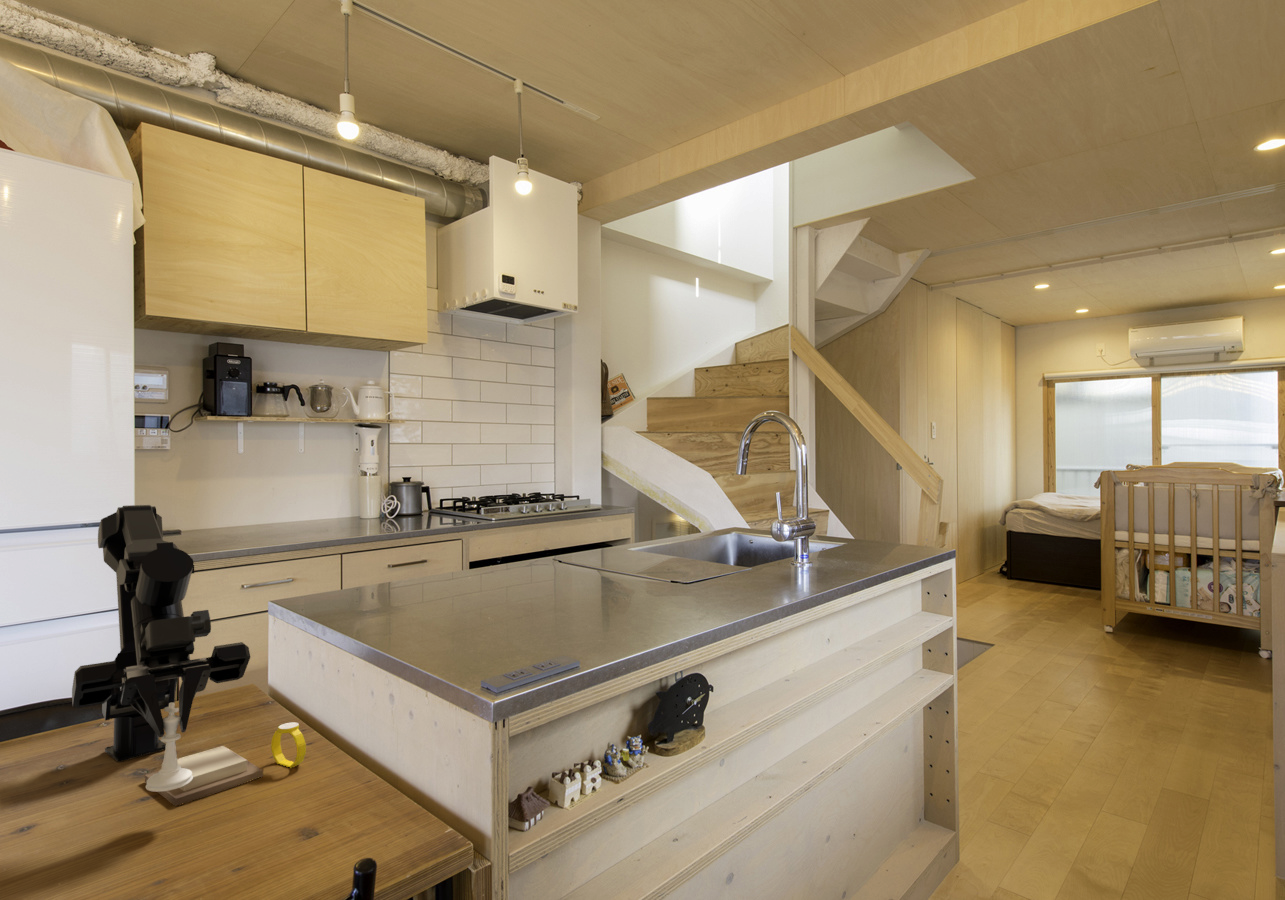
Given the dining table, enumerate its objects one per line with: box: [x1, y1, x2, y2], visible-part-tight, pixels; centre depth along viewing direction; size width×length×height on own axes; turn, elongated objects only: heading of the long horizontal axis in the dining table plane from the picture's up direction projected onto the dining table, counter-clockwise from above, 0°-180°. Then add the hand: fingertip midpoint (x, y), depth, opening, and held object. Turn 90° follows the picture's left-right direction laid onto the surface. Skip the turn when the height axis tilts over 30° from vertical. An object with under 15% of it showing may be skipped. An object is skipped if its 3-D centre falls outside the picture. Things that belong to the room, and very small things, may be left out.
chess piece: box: [145, 702, 193, 793], centre depth 88 cm, size 5×5×10 cm
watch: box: [270, 721, 307, 769], centre depth 105 cm, size 6×3×6 cm, turn 64°
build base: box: [144, 745, 264, 807], centre depth 100 cm, size 11×11×2 cm
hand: (173, 733), depth 87 cm, fingers closed on chess piece
